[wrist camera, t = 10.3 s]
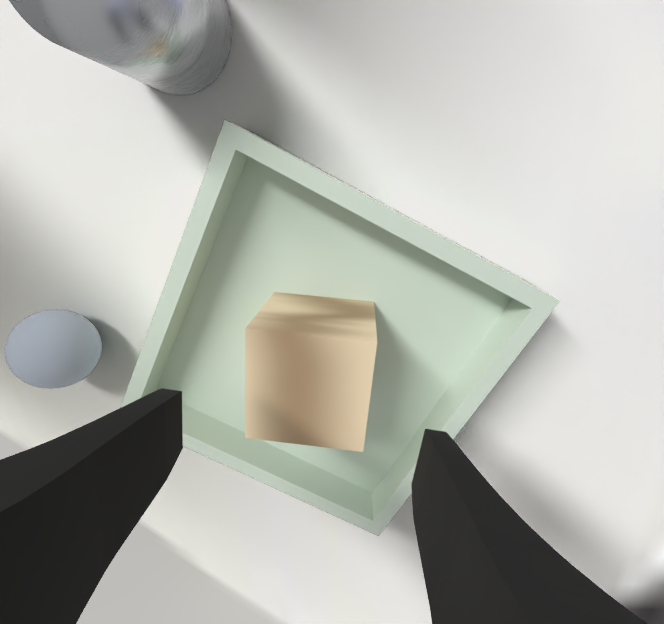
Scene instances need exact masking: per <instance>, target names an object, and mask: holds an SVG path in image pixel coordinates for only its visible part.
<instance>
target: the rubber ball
mask: <svg viewBox="0 0 664 624" xmlns="http://www.w3.org/2000/svg"><path fill="white" fill-rule="evenodd" d="M101 352H102V341H101V337H100V335H99V333H98V331H97V329H96V328H95V326H94V325H93V324H92V323H91V322H90V321H89V320H88V319H86V318H85V317H83V316H81V315H79V314H77V313H74V312H71V311H65V310H46V311H42V312H38V313H35V314H33V315H30V316H28V317H27V318H25V319H23V320H22V321H21V322H19V323H18V324H17V325H16V326H15V327H14V328H13V330H12V331H11V333H10V334H9V336H8V338H7V341H6V344H5V358H6V361H7V364H8V366H9V368H10V370H11V371H12V372H13V373H14V375H16V376H17V377H18V378H19V379H21V380H22V381H24V382H25V383H27V384H30V385H33V386H36V387H40V388H61V387H65V386H69V385H72V384H74V383H77V382H78V381H80V380H82V379H84V378H85V377H86V376H87V375H88V374H90V373H91V372H92V370H93V369H94V368H95V367H96V365H97V363H98V362H99V359H100V356H101Z"/></svg>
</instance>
